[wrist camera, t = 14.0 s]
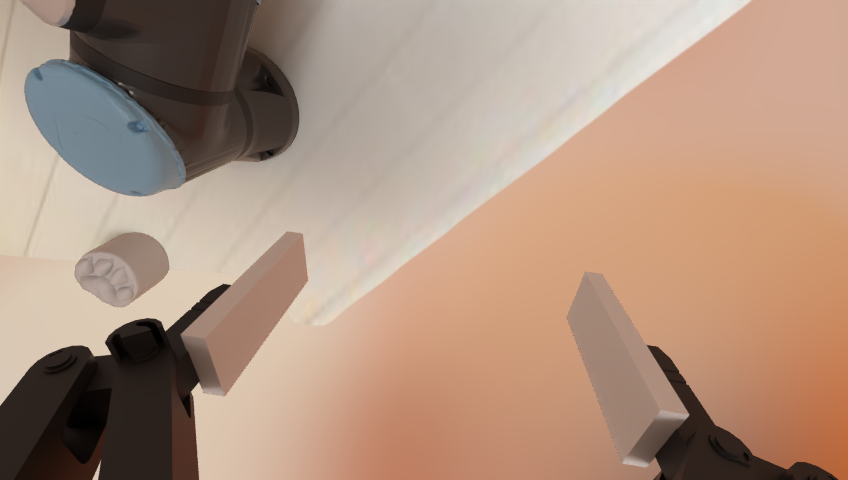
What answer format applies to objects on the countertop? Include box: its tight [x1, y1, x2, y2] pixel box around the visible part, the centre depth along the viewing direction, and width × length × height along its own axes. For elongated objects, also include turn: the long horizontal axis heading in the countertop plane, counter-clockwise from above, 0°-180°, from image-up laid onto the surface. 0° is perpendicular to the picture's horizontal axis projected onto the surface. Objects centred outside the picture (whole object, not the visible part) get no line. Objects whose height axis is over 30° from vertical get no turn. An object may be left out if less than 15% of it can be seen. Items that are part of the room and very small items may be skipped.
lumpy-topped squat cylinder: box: [75, 232, 169, 307], centre depth 60 cm, size 10×13×9 cm
